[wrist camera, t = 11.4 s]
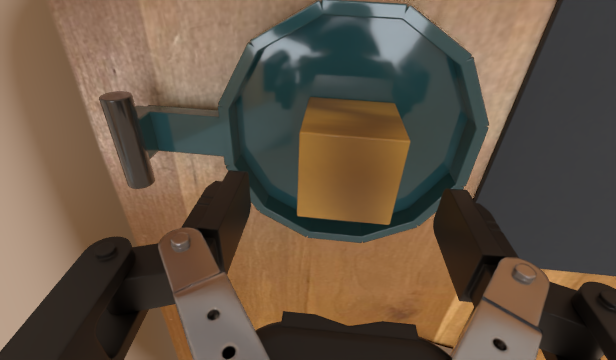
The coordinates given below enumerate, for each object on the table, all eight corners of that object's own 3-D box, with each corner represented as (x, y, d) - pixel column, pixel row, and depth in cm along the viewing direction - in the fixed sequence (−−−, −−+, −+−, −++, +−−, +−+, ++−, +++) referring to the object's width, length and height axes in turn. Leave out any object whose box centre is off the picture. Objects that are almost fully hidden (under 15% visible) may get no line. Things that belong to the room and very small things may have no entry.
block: (305, 169, 19) (296, 217, 15) (309, 96, 17) (299, 131, 13) (380, 175, 19) (389, 225, 15) (395, 102, 16) (411, 140, 13)
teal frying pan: (171, 206, 23) (142, 245, 20) (114, -16, 15) (52, -14, 12) (433, 232, 22) (449, 277, 18) (515, 7, 14) (566, 16, 11)
